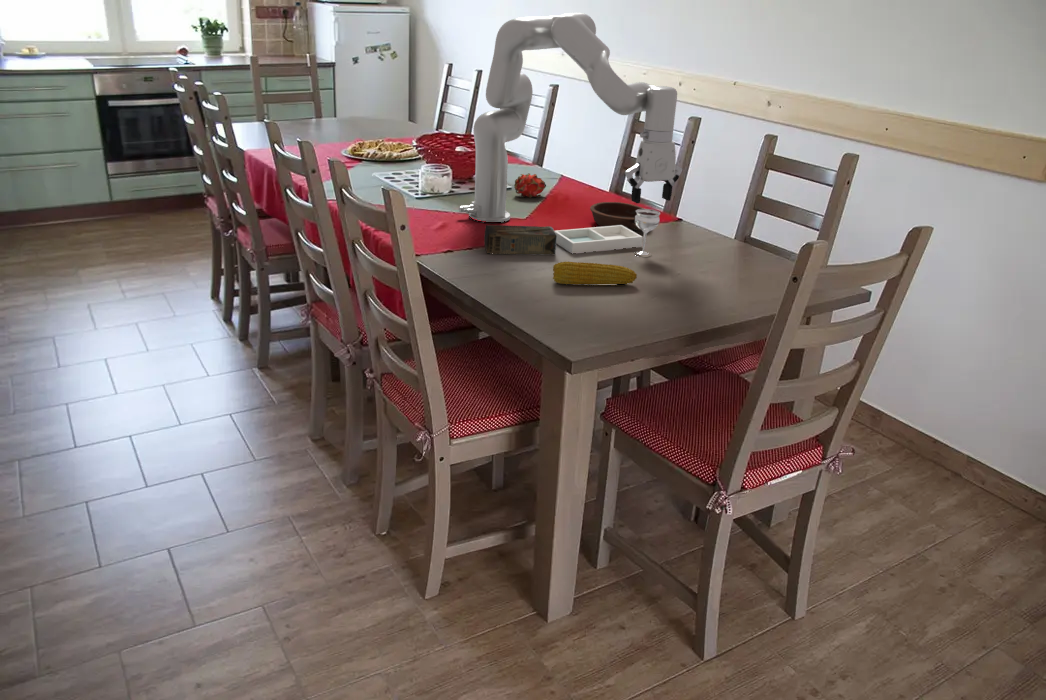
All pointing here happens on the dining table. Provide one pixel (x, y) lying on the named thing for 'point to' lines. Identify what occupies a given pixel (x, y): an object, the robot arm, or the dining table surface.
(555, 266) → the food
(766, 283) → the dining table surface
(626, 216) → the dish
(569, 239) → the white divided tray
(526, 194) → the dragon fruit
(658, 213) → the wineglass
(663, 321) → the dining table surface
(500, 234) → the beverage carton
